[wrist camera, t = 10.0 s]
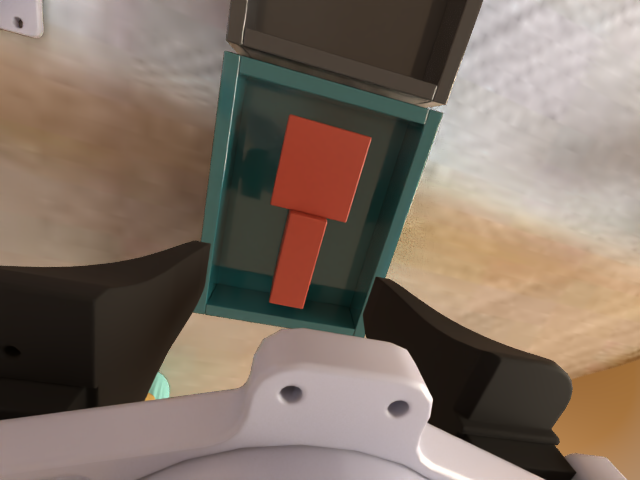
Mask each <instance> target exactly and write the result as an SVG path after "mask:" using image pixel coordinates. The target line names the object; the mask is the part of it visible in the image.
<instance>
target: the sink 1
mask: <svg viewBox="0 0 640 480" xmlns="http://www.w3.org/2000/svg"><path fill="white" fill-rule="evenodd" d="M290 114H291V115H295V116H298V117H302V118H305V119H309V120H313V121H316V122H320V123H323V124H327V125H330V126H334V127H337V128H341V129H344V130H348V131H351V132H355V133H358V134H362V135H365V136H369V137H371V142H370V146H369V149H368V152H367V156H366V159H365V162H364V165H363V169H362V172H361V175H360V179H359V182H358V185H357V188H356V192H355V195H354V198H353V202H352V205H351V208H350V211H349V215H348V218H347V221H346V222H341V221H336V220H332V219H328V218H326V220H327V225H326V229H325V232H324V236H323V239H322V243H321V246H320V250H319V253H318V257H317V261H316V264H315V268H314V271H313V275H312V278H311V282H310V285H309V289H308V292H307V296H306V299H305V303H304V307H303V309H300V308H295V307H289V306H284V305H279V304H274V303H270V302H269V298H270V292H271V287H272V281H273V276H274V271H275V267H276V263H277V259H278V254H279V250H280V246H281V242H282V237H283V233H284V229H285V225H286V220H287V216H288V212H289V209H286V208H282V207H277V206H273V205H271V204H270V202H271V197H272V193H273V188H274V183H275V178H276V174H277V169H278V164H279V160H280V155H281V150H282V145H283V141H284V136H285V131H286V127H287V122H288V117H289V115H290ZM442 116H443V113H441V112H437V111H434V110H429V109H427V108H423V107H420V106H416V105H413V104H409V103H406V102H402V101H399V100H395V99H392V98H388V97H385V96H381V95H378V94H375V93H371V92H368V91H364V90H361V89H357V88H354V87H350V86H347V85H343V84H340V83H336V82H333V81H329V80H326V79H322V78H319V77H315V76H312V75H308V74H305V73H301V72H298V71H294V70H291V69H287V68H284V67H281V66H277V65H274V64H270V63H267V62H263V61H260V60H256V59H253V58H249V57H246V56H241V55H239V54H235V53H232V52H228V51H224V57H223V65H222V73H221V81H220V90H219V98H218V106H217V114H216V122H215V130H214V139H213V147H212V155H211V163H210V171H209V179H208V188H207V196H206V204H205V212H204V220H203V228H202V237H201V242H205V243H210V244H211V245H210V253H209V260H208V267H207V275H206V282H205V288H204V290H203V292H202V295H201V297H200V299H199V302H198V304H197V306H196V308H195V309H194V311H193V313H199V314H206V315H211V316H217V317H223V318H229V319H236V320H242V321H248V322H254V323H260V324H266V325H272V326H278V327H284V328H290V329H294V328H307V329H313V330H319V331H325V332H331V333H337V334H343V335H349V336H355V337H361V338H364V336H365V329H364V322H363V312H364V309H365V306H366V303H367V301H368V298H369V295H370V292H371V289H372V286H373V283H374V280H375V277H381V278H385V277H386V274H387V271H388V269H389V266H390V263H391V260H392V257H393V254H394V252H395V249H396V246H397V243H398V240H399V237H400V235H401V232H402V229H403V226H404V223H405V220H406V218H407V215H408V212H409V209H410V206H411V203H412V201H413V198H414V195H415V192H416V189H417V187H418V184H419V181H420V178H421V175H422V172H423V170H424V167H425V164H426V161H427V158H428V155H429V153H430V150H431V147H432V144H433V141H434V138H435V136H436V133H437V130H438V127H439V124H440V121H441V119H442Z"/></svg>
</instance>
